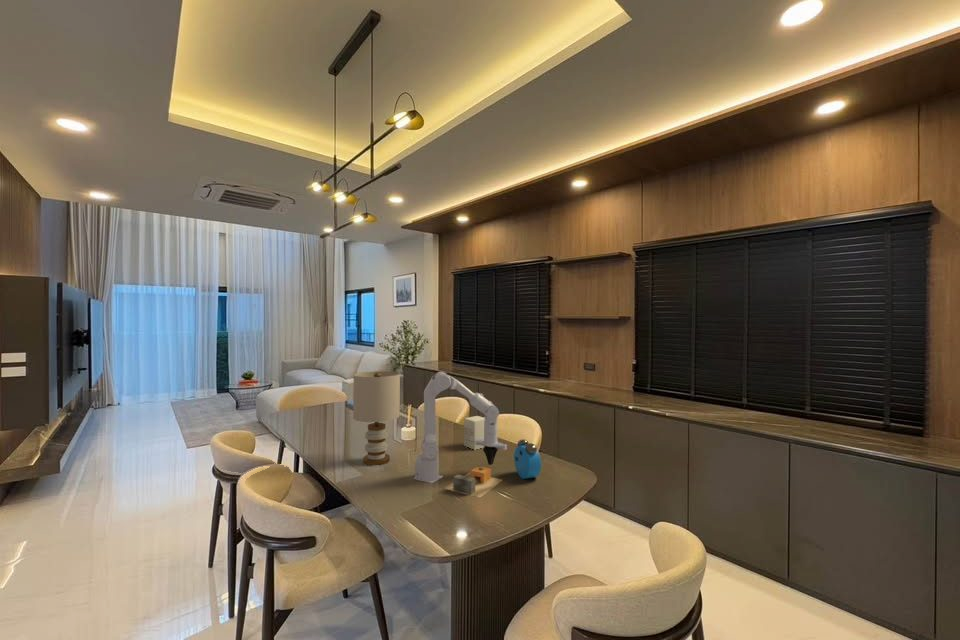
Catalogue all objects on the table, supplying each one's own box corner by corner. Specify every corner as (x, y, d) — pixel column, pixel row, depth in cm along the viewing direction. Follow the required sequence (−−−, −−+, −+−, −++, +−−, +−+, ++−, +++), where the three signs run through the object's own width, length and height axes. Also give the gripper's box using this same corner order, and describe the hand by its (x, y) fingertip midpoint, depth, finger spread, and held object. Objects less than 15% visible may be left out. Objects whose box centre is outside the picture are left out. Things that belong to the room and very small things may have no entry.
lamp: (372, 473, 167) (372, 377, 168) (343, 462, 180) (344, 373, 180) (408, 459, 184) (409, 372, 185) (380, 450, 197) (380, 369, 197)
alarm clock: (541, 482, 159) (541, 445, 159) (528, 484, 157) (528, 446, 157) (525, 470, 171) (525, 436, 171) (513, 472, 169) (513, 438, 169)
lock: (471, 480, 159) (471, 469, 159) (478, 475, 165) (478, 464, 165) (483, 483, 156) (483, 471, 156) (490, 478, 162) (491, 467, 162)
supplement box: (477, 443, 210) (477, 415, 211) (487, 447, 204) (488, 418, 204) (463, 446, 205) (463, 417, 205) (474, 450, 198) (474, 421, 198)
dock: (444, 489, 151) (444, 475, 152) (469, 473, 168) (469, 460, 168) (479, 498, 144) (479, 484, 144) (502, 480, 160) (502, 467, 160)
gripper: (510, 432, 168) (510, 464, 168) (480, 427, 175) (480, 458, 175) (502, 436, 162) (502, 469, 161) (472, 431, 169) (472, 463, 169)
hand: (490, 464), depth 168 cm, fingers closed
